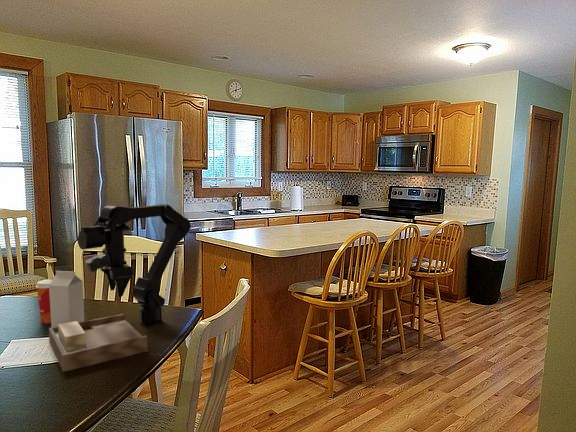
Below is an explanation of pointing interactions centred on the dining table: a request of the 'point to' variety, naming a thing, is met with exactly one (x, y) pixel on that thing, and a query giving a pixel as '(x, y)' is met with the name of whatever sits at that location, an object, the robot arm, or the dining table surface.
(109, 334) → the open tray box
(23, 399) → the dining table surface
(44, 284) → the paper cup
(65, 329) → the cream rectangular block
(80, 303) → the milk carton
